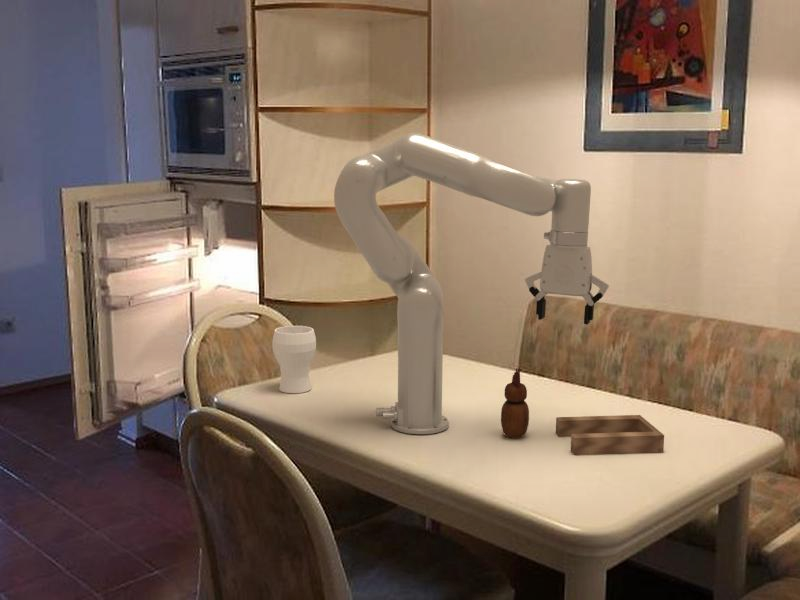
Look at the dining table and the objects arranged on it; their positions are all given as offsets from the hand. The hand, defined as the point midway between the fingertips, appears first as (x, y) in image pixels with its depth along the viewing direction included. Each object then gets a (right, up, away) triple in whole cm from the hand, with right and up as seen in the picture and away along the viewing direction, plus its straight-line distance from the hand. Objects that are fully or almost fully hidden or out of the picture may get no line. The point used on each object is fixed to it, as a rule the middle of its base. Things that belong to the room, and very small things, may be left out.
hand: (564, 320), depth 190 cm
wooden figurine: (-10, -24, 0) cm, 26 cm away
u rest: (+8, -25, -4) cm, 26 cm away
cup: (-60, -18, +33) cm, 71 cm away
